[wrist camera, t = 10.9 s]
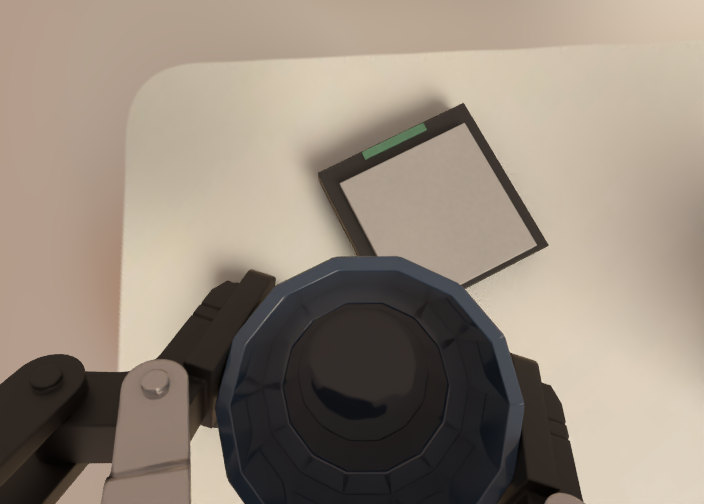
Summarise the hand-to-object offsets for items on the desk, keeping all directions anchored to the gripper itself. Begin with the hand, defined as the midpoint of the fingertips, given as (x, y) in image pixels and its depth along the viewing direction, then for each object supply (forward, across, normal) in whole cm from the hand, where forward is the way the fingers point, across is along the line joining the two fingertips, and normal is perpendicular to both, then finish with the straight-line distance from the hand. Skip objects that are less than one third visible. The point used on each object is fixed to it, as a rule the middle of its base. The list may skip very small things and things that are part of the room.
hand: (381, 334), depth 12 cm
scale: (+20, -2, +6) cm, 21 cm away
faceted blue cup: (+2, 0, +4) cm, 5 cm away
